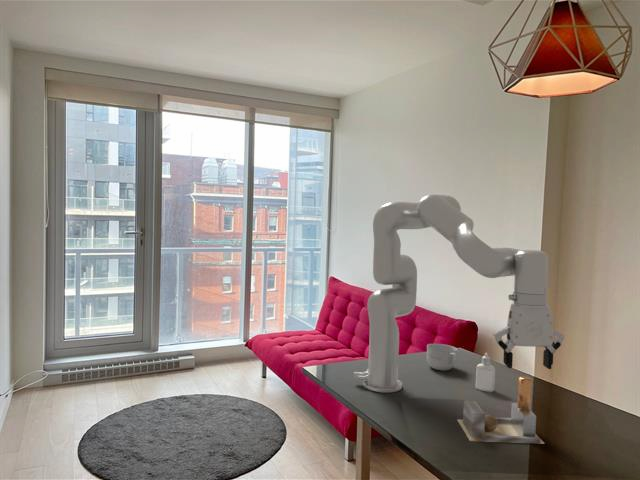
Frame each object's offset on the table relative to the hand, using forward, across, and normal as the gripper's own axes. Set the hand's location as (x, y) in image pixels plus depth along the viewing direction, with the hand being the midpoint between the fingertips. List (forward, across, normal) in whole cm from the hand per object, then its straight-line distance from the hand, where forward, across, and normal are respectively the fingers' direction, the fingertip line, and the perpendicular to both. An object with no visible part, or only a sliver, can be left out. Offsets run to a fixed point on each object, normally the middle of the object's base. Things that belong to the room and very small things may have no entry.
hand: (527, 367), depth 121 cm
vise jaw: (+17, -1, +1) cm, 17 cm away
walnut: (+17, -9, +1) cm, 19 cm away
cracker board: (+18, -7, +1) cm, 19 cm away
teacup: (+18, -9, +53) cm, 56 cm away
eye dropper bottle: (+18, 0, +34) cm, 38 cm away
